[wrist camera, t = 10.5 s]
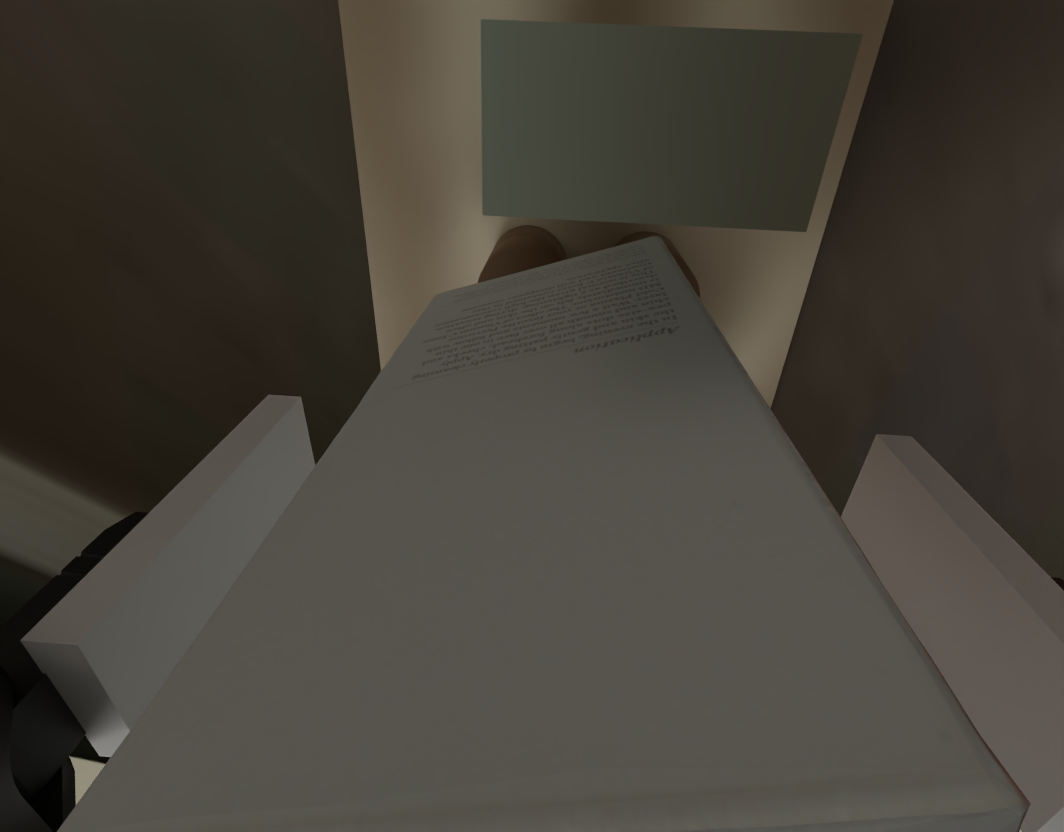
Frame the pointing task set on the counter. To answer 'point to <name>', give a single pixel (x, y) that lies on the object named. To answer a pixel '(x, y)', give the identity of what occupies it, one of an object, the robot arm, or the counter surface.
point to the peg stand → (606, 145)
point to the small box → (557, 607)
